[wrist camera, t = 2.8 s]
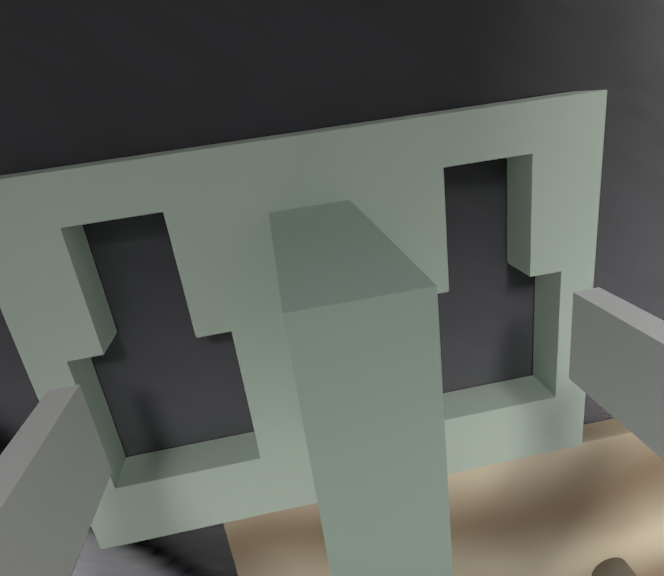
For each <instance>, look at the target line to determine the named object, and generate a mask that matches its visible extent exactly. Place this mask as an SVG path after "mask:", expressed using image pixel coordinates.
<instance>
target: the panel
mask: <svg viewBox="0 0 664 576" xmlns="http://www.w3.org/2000/svg"><path fill="white" fill-rule="evenodd" d="M606 102H607V90H590V91H572V92H565V93H558V94H552V95H545V96H538V97H531V98H524V99H518V100H511V101H504V102H497V103H490V104H484V105H477V106H470V107H463V108H456V109H449V110H443V111H436V112H429V113H422V114H415V115H409V116H402V117H395V118H388V119H381V120H375V121H368V122H361V123H354V124H347V125H340V126H334V127H327V128H320V129H313V130H306V131H300V132H293V133H286V134H279V135H272V136H266V137H259V138H252V139H245V140H238V141H231V142H225V143H218V144H211V145H204V146H197V147H191V148H184V149H177V150H170V151H163V152H156V153H150V154H143V155H136V156H129V157H122V158H116V159H109V160H102V161H95V162H88V163H82V164H75V165H68V166H61V167H54V168H47V169H41V170H34V171H27V172H20V173H13V174H7V175H0V309H1V311H2V314H3V316H4V318H5V321H6V323H7V326H8V328H9V330H10V333H11V335H12V338H13V340H14V342H15V345H16V347H17V350H18V352H19V354H20V357H21V359H22V362H23V364H24V366H25V369H26V371H27V374H28V376H29V378H30V381H31V383H32V386H33V388H34V390H35V393H36V395H37V398H38V400H39V402H40V400H41V399H42V398H43V396H44V395H45V394H46V392H47V391H48V390H53V389H58V388H63V387H69V386H74V385H79V384H80V387H81V389H82V392H83V395H84V397H85V400H86V403H87V405H88V408H89V411H90V414H91V416H92V419H93V422H94V424H95V427H96V430H97V432H98V435H99V438H100V441H101V443H102V446H103V449H104V451H105V454H106V457H107V459H108V462H109V465H110V468H111V470H112V473H111V476H110V479H109V481H108V484H107V486H106V489H105V491H104V494H103V496H102V499H101V501H100V504H99V506H98V509H97V512H96V514H95V517H94V519H93V522H92V524H91V527H92V529H93V532H94V534H95V537H96V539H97V541H98V544H99V546H100V549H101V550H102V549H107V548H111V547H116V546H121V545H125V544H130V543H134V542H139V541H144V540H148V539H153V538H157V537H162V536H166V535H171V534H176V533H180V532H185V531H189V530H194V529H199V528H203V527H208V526H212V525H217V524H221V523H226V522H231V521H235V520H240V519H244V518H249V517H254V516H258V515H263V514H267V513H272V512H276V511H281V510H286V509H290V508H295V507H299V506H304V505H309V504H313V503H318V508H319V513H320V518H321V524H322V529H323V535H324V540H325V546H326V551H327V556H328V562H329V567H330V573H331V576H453V566H452V548H451V530H450V511H449V493H448V475H447V474H451V473H455V472H460V471H464V470H469V469H474V468H478V467H483V466H487V465H492V464H496V463H501V462H506V461H510V460H515V459H519V458H524V457H529V456H533V455H538V454H542V453H547V452H551V451H556V450H561V449H565V448H570V447H574V446H579V445H582V436H583V422H584V408H585V394H586V393H585V392H584V391H583V390H581V389H580V388H579V387H578V386H577V385H576V384H574V383H573V382H572V381H571V380H570V379H569V365H570V346H571V326H572V306H573V292H577V291H582V290H588V289H593V283H594V269H595V255H596V241H597V227H598V213H599V199H600V186H601V172H602V158H603V144H604V130H605V116H606ZM501 158H507V263H509V264H510V265H512V266H513V267H515V268H517V269H518V270H520V271H521V272H523V273H525V274H526V275H528V276H529V277H533V276H535V303H534V344H533V375H531V376H526V377H521V378H516V379H511V380H506V381H501V382H496V383H491V384H486V385H481V386H477V387H472V388H467V389H462V390H457V391H452V392H447V393H443V384H442V366H441V348H440V330H439V311H438V294H439V293H445V292H449V278H448V256H447V234H446V212H445V190H444V167H450V166H456V165H463V164H469V163H475V162H482V161H488V160H494V159H501ZM159 212H163V214H164V217H165V221H166V225H167V229H168V233H169V236H170V240H171V244H172V248H173V252H174V256H175V259H176V263H177V267H178V271H179V275H180V279H181V282H182V286H183V290H184V294H185V298H186V301H187V305H188V309H189V313H190V317H191V321H192V324H193V328H194V332H195V336H196V338H198V337H204V336H209V335H215V334H220V333H226V332H232V336H233V340H234V345H235V349H236V353H237V358H238V362H239V366H240V371H241V375H242V379H243V384H244V388H245V392H246V397H247V401H248V405H249V410H250V414H251V418H252V423H253V427H254V432H249V433H244V434H239V435H234V436H229V437H224V438H219V439H214V440H209V441H204V442H199V443H195V444H190V445H185V446H180V447H175V448H170V449H165V450H160V451H155V452H150V453H145V454H140V455H135V456H130V457H126V455H125V452H124V450H123V447H122V444H121V441H120V438H119V436H118V433H117V430H116V427H115V424H114V422H113V419H112V416H111V413H110V410H109V408H108V405H107V402H106V399H105V396H104V394H103V391H102V388H101V385H100V382H99V380H98V377H97V374H96V371H95V368H94V366H93V363H92V360H91V357H94V356H100V355H104V354H105V352H106V350H107V349H108V347H109V345H110V344H111V342H112V340H113V339H114V337H115V335H116V334H117V330H116V326H115V323H114V320H113V317H112V314H111V311H110V308H109V305H108V302H107V299H106V296H105V293H104V290H103V287H102V284H101V281H100V278H99V274H98V271H97V268H96V265H95V262H94V259H93V256H92V253H91V250H90V247H89V244H88V241H87V238H86V235H85V232H84V229H83V226H82V225H83V224H89V223H96V222H102V221H108V220H115V219H121V218H127V217H134V216H140V215H146V214H153V213H159Z"/></svg>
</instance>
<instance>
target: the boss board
mask: <svg viewBox="0 0 664 576" xmlns="http://www.w3.org/2000/svg"><path fill="white" fill-rule="evenodd" d="M447 475H448V493H449V511H450V530H451V548H452V566H453V576H664V460H663V459H662V458H661V457H660V456H658V455H657V454H656V453H655V452H654V451H653V450H651V449H650V448H649V447H648V446H647V445H646V444H644V443H643V442H642V441H641V440H640V439H639V438H637V437H636V436H635V435H634V434H633V433H632V432H630V431H629V430H628V429H627V428H626V427H625V426H623V425H622V424H621V423H620V422H619V421H618V420H616V419H615V418H612V419H608V420H603V421H598V422H593V423H589V424H584V425H583V436H582V445H579V446H574V447H570V448H565V449H561V450H556V451H551V452H547V453H542V454H538V455H533V456H529V457H524V458H519V459H515V460H510V461H506V462H501V463H496V464H492V465H487V466H483V467H478V468H474V469H469V470H464V471H460V472H455V473H451V474H447ZM223 524H224V528H225V531H226V535H227V538H228V542H229V546H230V549H231V553H232V556H233V560H234V563H235V567H236V570H237V574H238V576H331V573H330V567H329V562H328V556H327V551H326V546H325V540H324V535H323V529H322V524H321V518H320V513H319V508H318V503H313V504H309V505H304V506H299V507H295V508H290V509H286V510H281V511H276V512H272V513H267V514H263V515H258V516H254V517H249V518H244V519H240V520H235V521H231V522H226V523H223Z"/></svg>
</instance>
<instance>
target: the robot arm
mask: <svg viewBox="0 0 664 576" xmlns="http://www.w3.org/2000/svg"><path fill="white" fill-rule="evenodd" d="M569 379H570V380H571V381H572V382H573V383H574V384H576V385H577V386H578V387H579V388H580V389H581V390H583V391H584V392H585V393H586V394H587V395H588V396H590V397H591V398H592V399H593V400H594V401H595V402H597V403H598V404H599V405H600V406H601V407H602V408H604V409H605V410H606V411H607V412H608V413H609V414H611V415H612V416H613V417H614V418H615V419H616V420H618V421H619V422H620V423H621V424H622V425H623V426H625V427H626V428H627V429H628V430H629V431H630V432H632V433H633V434H634V435H635V436H636V437H637V438H639V439H640V440H641V441H642V442H643V443H644V444H646V445H647V446H648V447H649V448H650V449H651V450H653V451H654V452H655V453H656V454H657V455H658V456H660V457H661V458H662V459H663V460H664V320H662V319H660V318H658V317H656V316H654V315H652V314H650V313H648V312H646V311H644V310H642V309H640V308H638V307H636V306H634V305H633V304H631V303H629V302H627V301H625V300H623V299H621V298H619V297H617V296H615V295H613V294H611V293H609V292H607V291H605V290H604V289H602V288H600V287H598V288H593V289H588V290H582V291H577V292H573V306H572V326H571V346H570V365H569ZM111 473H112V470H111V468H110V465H109V462H108V459H107V457H106V454H105V451H104V449H103V446H102V443H101V441H100V438H99V435H98V432H97V430H96V427H95V424H94V422H93V419H92V416H91V414H90V411H89V408H88V405H87V403H86V400H85V397H84V395H83V392H82V389H81V387H80V384H79V385H74V386H69V387H63V388H58V389H53V390H48V391H47V392H46V394H45V395H44V396H43V398H42V399H41V400H40V402H39V403H38V404H37V406H36V407H35V409H34V410H33V411H32V413H31V414H30V415H29V417H28V418H27V419H26V421H25V422H24V424H23V425H22V426H21V428H20V429H19V430H18V432H17V433H16V434H15V436H14V437H13V438H12V440H11V441H10V443H9V444H8V445H7V447H6V448H5V449H4V451H3V452H2V453H1V455H0V576H71V575H72V573H73V570H74V568H75V565H76V562H77V560H78V557H79V555H80V552H81V550H82V547H83V545H84V542H85V540H86V537H87V534H88V532H89V529H90V527H91V524H92V522H93V519H94V517H95V514H96V512H97V509H98V506H99V504H100V501H101V499H102V496H103V494H104V491H105V489H106V486H107V484H108V481H109V479H110V476H111Z"/></svg>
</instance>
